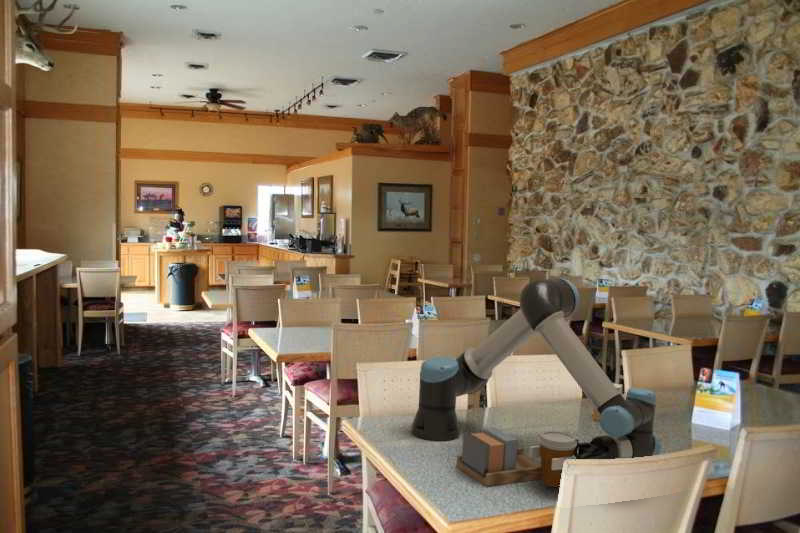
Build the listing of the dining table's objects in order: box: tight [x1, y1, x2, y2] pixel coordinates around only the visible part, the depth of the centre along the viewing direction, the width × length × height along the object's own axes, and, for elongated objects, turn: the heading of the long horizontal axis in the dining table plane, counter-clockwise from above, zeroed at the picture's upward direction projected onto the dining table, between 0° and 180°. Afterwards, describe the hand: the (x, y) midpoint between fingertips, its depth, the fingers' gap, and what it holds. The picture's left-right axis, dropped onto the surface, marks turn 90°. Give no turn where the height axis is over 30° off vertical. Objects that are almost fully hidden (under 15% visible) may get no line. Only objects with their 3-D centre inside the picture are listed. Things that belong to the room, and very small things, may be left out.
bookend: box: [460, 431, 490, 478], centre depth 176 cm, size 2×11×8 cm, turn 26°
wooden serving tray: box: [456, 447, 542, 487], centre depth 181 cm, size 22×15×3 cm
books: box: [471, 427, 518, 473], centre depth 178 cm, size 8×11×9 cm
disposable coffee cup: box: [538, 430, 577, 488], centre depth 170 cm, size 10×10×12 cm
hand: (541, 458), depth 168 cm, fingers closed on disposable coffee cup, 8 cm apart
